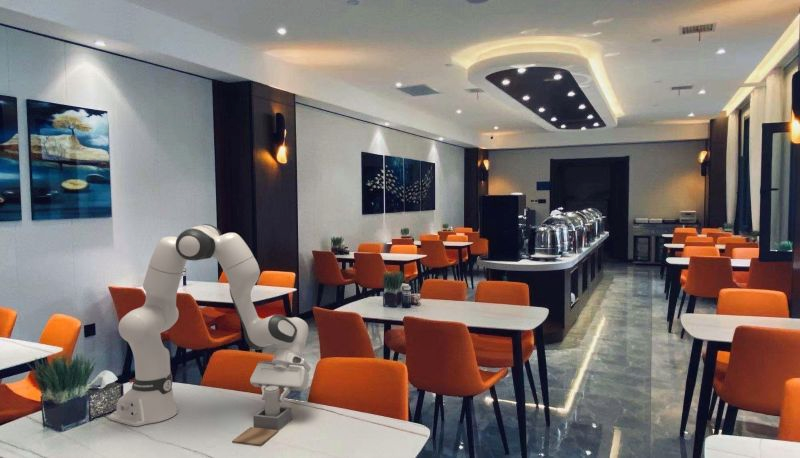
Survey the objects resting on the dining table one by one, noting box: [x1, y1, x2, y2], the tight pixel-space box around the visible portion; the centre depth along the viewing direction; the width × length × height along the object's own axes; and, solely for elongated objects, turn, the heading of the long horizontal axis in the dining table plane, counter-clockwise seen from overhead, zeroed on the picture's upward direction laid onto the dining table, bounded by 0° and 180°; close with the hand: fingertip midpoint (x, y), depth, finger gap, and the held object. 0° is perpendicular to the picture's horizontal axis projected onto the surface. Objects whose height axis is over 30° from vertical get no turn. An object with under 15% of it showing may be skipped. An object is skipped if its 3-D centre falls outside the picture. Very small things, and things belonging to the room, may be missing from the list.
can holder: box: [252, 406, 293, 431], centre depth 176 cm, size 9×9×4 cm
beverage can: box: [264, 386, 281, 417], centre depth 176 cm, size 5×5×12 cm
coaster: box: [231, 426, 279, 447], centre depth 167 cm, size 10×10×1 cm
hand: (271, 400), depth 176 cm, fingers closed on beverage can, 5 cm apart
